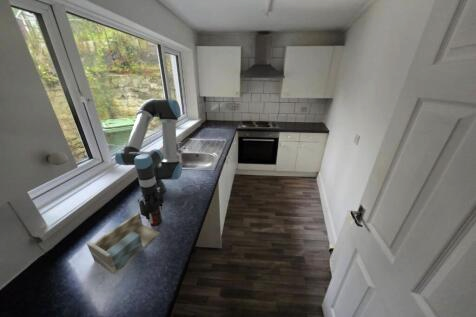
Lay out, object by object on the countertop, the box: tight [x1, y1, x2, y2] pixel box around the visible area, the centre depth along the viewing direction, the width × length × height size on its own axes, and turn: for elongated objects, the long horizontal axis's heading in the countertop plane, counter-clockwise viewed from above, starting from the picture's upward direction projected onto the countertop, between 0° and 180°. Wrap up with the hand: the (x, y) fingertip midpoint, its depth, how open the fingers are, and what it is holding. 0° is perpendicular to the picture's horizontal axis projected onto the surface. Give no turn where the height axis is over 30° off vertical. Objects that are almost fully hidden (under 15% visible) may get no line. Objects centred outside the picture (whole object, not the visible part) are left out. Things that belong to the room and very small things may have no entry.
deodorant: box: [149, 198, 163, 227], centre depth 98 cm, size 6×6×15 cm
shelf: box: [86, 211, 161, 275], centre depth 84 cm, size 24×14×11 cm, turn 155°
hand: (155, 218), depth 100 cm, fingers closed on deodorant, 6 cm apart
